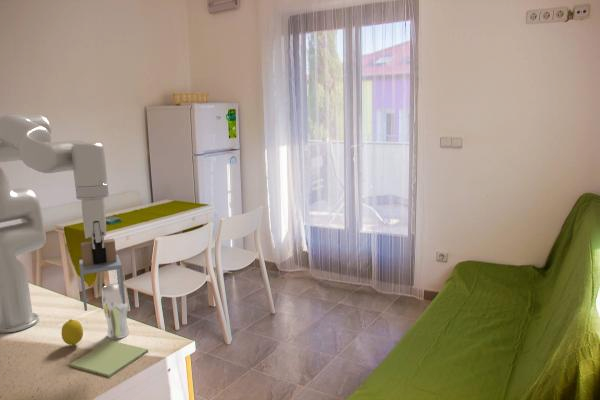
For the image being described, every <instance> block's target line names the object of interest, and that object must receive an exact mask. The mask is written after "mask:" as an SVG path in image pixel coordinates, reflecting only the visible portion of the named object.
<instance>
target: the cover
mask: <svg viewBox="0 0 600 400" xmlns="http://www.w3.org/2000/svg"><path fill="white" fill-rule="evenodd" d="M104 247H105V248H106V258H107V262H106V263H101V264H93V255H92V249H93V246H92V240H91V241H84V242H80V250H81V257H82V259H79V264H78V265H79V273H80V283H81V291H82V301H83V309H84V311H85V312H87V311H88V302H87V296H86V295H87V293H86V286H85V277H84V275H88V274H90V275H91V274H95V273H97V274H98V273H102V272H109V271H115V270H116V272H117V280H118V283H119V292H120V295H121V299H122V302H123V304H125V294H124V285H125V284H124V275H123V266H122V263H121V262H122V261H121V259H120V256H119V254H117V249H116V241H115V238H108V239H104Z"/></svg>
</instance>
